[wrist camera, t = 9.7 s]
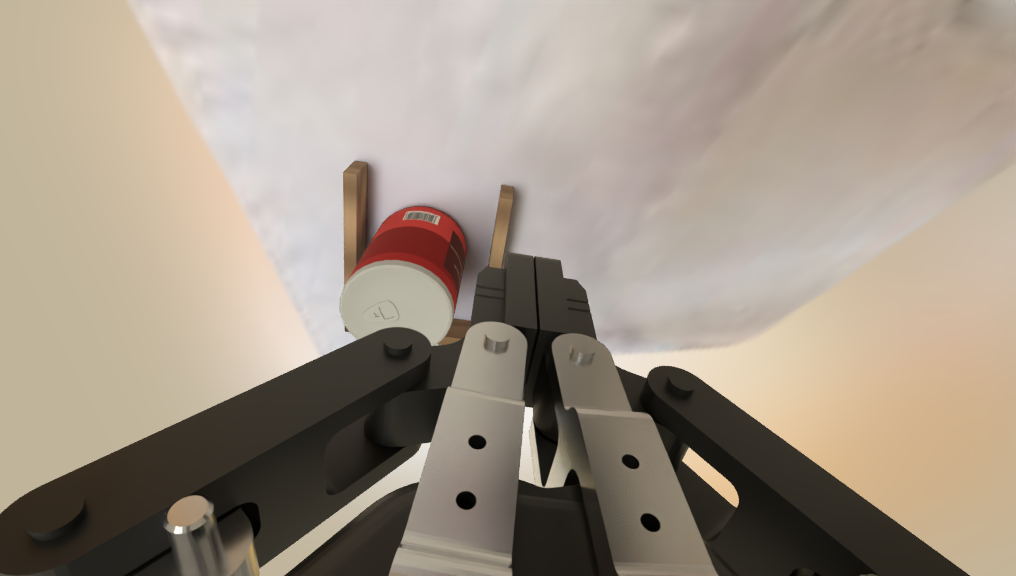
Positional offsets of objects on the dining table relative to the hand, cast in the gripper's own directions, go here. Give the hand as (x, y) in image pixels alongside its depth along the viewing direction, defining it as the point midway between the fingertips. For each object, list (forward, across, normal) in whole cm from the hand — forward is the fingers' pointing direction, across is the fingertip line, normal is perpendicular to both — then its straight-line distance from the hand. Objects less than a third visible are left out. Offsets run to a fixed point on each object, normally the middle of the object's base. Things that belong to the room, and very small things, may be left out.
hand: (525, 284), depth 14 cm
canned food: (+27, +6, +13) cm, 31 cm away
